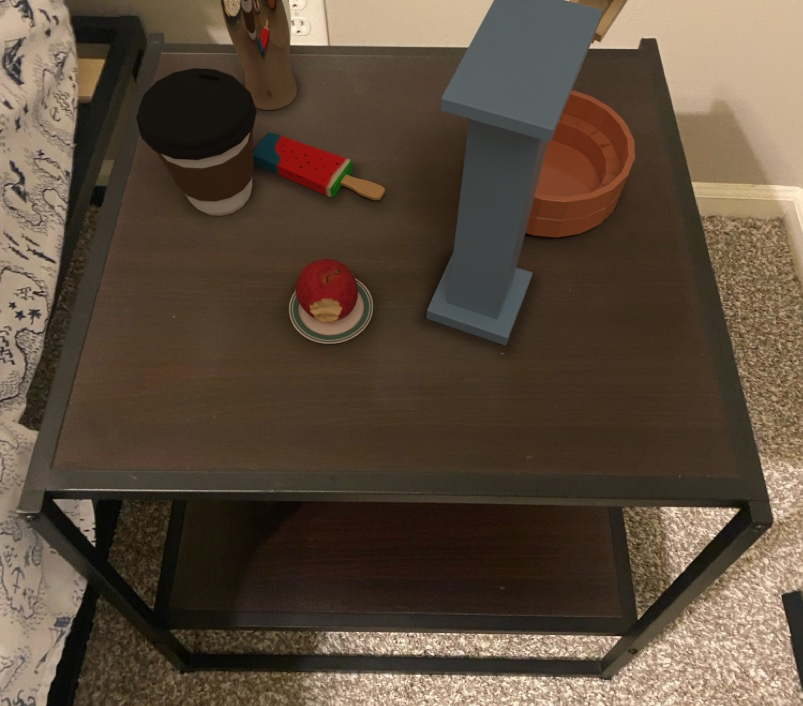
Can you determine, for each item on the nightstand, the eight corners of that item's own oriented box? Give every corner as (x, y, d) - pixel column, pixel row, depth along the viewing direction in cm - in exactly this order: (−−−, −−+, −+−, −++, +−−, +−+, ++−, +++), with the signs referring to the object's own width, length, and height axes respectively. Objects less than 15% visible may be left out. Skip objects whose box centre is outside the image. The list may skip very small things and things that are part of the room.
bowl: (616, 137, 80) (631, 94, 75) (620, 248, 72) (638, 208, 67) (476, 124, 81) (481, 80, 76) (465, 232, 73) (471, 192, 68)
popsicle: (372, 204, 73) (248, 156, 76) (372, 214, 74) (250, 165, 77) (392, 175, 75) (270, 128, 78) (392, 185, 76) (272, 139, 79)
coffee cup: (193, 147, 79) (162, 54, 68) (287, 167, 77) (270, 75, 67) (152, 222, 73) (111, 133, 63) (251, 244, 72) (227, 157, 62)
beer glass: (310, 79, 84) (295, -45, 71) (287, 119, 81) (267, -4, 68) (255, 67, 85) (231, -58, 72) (231, 105, 82) (201, -18, 69)
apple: (389, 317, 68) (389, 277, 62) (320, 361, 65) (313, 324, 60) (341, 263, 71) (337, 220, 65) (273, 303, 69) (262, 262, 63)
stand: (499, 363, 66) (562, 132, 41) (418, 335, 67) (432, 95, 43) (536, 266, 71) (610, 11, 47) (460, 242, 72) (495, -18, 48)
